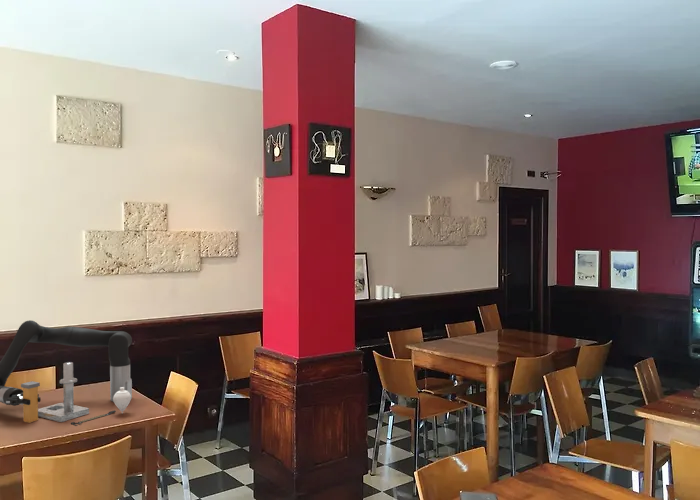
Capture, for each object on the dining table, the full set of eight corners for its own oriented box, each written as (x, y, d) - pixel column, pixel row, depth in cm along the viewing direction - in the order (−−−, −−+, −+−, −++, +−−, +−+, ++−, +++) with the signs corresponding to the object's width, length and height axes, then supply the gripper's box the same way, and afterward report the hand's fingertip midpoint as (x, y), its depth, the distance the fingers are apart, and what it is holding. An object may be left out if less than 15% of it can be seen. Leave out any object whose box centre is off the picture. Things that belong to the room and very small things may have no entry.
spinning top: (126, 410, 273) (126, 384, 273) (134, 413, 268) (134, 387, 268) (110, 413, 268) (110, 387, 268) (117, 417, 263) (117, 390, 262)
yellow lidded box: (21, 421, 256) (20, 383, 256) (32, 418, 261) (32, 381, 261) (28, 423, 254) (28, 385, 254) (40, 420, 259) (39, 382, 258)
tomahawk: (78, 429, 250) (78, 426, 249) (70, 425, 253) (70, 422, 253) (122, 415, 267) (122, 413, 267) (113, 412, 271) (113, 409, 271)
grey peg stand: (33, 415, 264) (33, 362, 264) (61, 407, 277) (61, 356, 276) (61, 422, 255) (60, 367, 255) (89, 413, 268) (88, 361, 267)
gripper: (-6, 391, 258) (18, 396, 250) (25, 384, 270) (49, 388, 262) (-6, 408, 258) (18, 414, 250) (25, 400, 270) (49, 405, 262)
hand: (34, 401), depth 256 cm, fingers closed on yellow lidded box, 4 cm apart
